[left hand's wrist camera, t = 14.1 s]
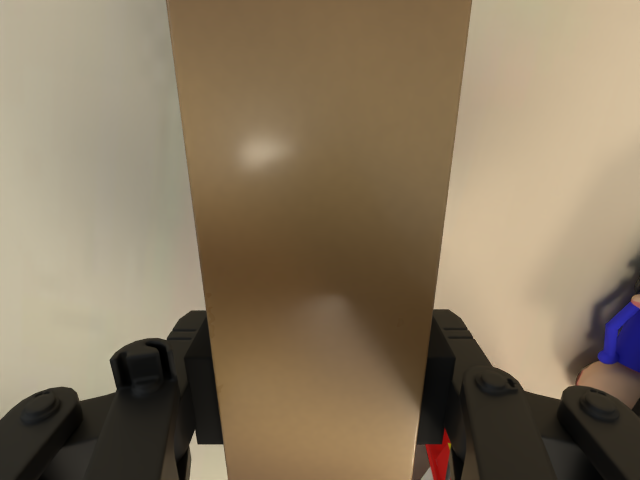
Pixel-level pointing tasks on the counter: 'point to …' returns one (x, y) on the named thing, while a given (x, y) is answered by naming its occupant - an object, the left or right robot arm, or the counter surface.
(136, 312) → the counter surface
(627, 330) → the figurine character
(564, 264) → the counter surface
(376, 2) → the beam
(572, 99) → the counter surface
